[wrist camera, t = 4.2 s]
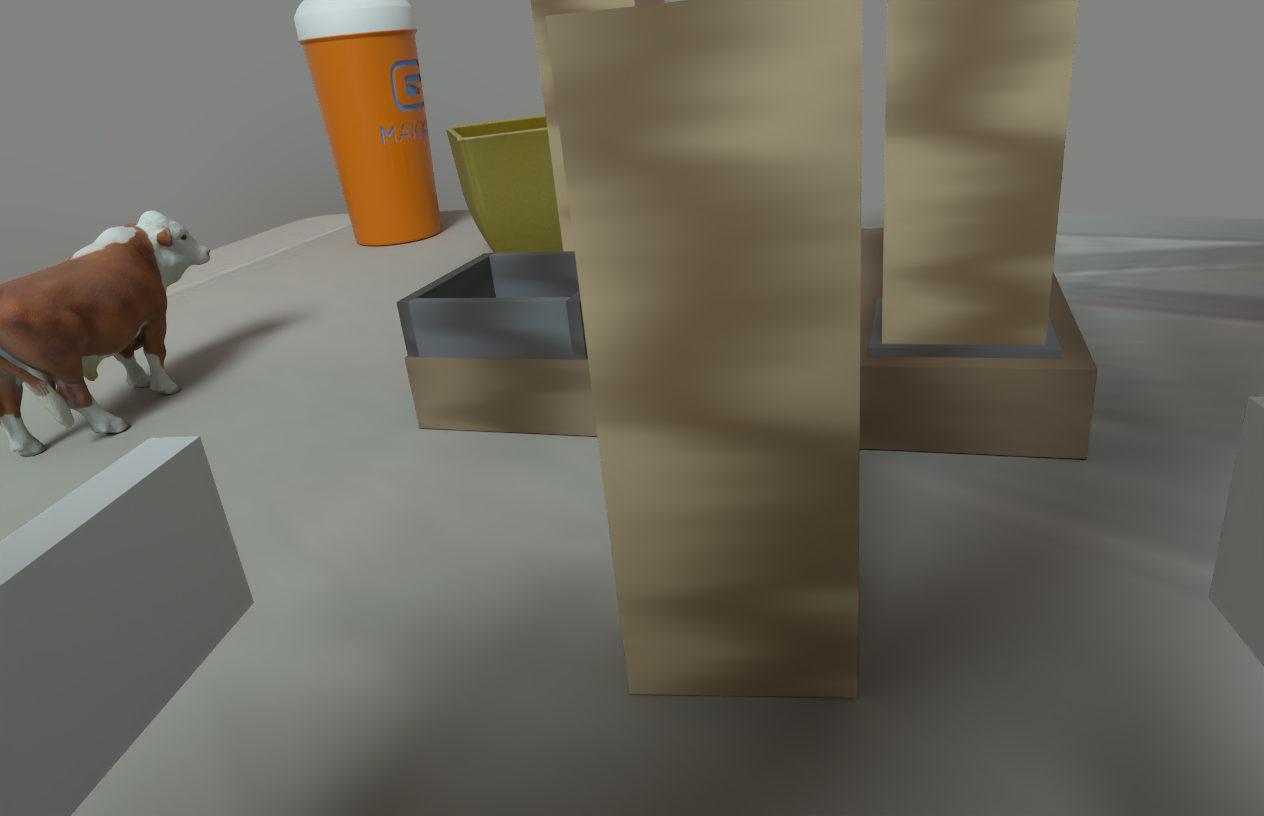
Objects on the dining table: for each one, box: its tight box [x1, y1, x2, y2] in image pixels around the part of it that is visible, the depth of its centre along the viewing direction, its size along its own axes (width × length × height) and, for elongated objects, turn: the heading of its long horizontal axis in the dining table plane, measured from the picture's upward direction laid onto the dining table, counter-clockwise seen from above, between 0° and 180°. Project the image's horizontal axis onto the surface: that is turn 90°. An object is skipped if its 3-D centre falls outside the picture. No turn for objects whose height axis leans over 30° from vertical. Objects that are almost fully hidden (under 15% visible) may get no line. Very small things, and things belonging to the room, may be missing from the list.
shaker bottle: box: [294, 0, 441, 246], centre depth 69 cm, size 9×9×20 cm
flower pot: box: [446, 115, 563, 253], centre depth 59 cm, size 9×9×9 cm
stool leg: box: [546, 0, 863, 698], centre depth 19 cm, size 5×5×14 cm
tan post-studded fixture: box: [397, 0, 1097, 459], centre depth 36 cm, size 24×20×17 cm
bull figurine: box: [0, 211, 210, 456], centre depth 39 cm, size 4×13×8 cm, turn 170°
